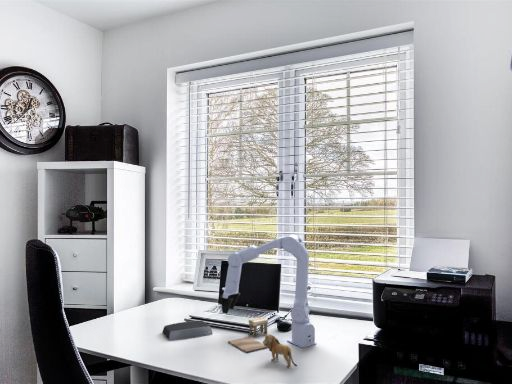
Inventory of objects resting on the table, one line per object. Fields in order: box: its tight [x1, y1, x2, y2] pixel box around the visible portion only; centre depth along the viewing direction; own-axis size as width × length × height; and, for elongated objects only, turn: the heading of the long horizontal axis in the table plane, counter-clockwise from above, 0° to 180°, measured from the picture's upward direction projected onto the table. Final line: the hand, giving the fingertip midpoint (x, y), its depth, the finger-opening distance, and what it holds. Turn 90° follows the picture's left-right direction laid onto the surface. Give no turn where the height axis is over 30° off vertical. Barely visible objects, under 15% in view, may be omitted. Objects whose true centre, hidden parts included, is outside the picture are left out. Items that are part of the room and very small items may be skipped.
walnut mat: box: [227, 336, 268, 354], centre depth 174 cm, size 14×10×1 cm
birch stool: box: [248, 316, 269, 337], centre depth 189 cm, size 4×7×6 cm, turn 124°
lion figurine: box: [262, 333, 298, 369], centre depth 156 cm, size 15×5×9 cm, turn 50°
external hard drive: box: [162, 320, 214, 342], centre depth 188 cm, size 13×19×4 cm
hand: (227, 310), depth 186 cm, fingers open, 7 cm apart
